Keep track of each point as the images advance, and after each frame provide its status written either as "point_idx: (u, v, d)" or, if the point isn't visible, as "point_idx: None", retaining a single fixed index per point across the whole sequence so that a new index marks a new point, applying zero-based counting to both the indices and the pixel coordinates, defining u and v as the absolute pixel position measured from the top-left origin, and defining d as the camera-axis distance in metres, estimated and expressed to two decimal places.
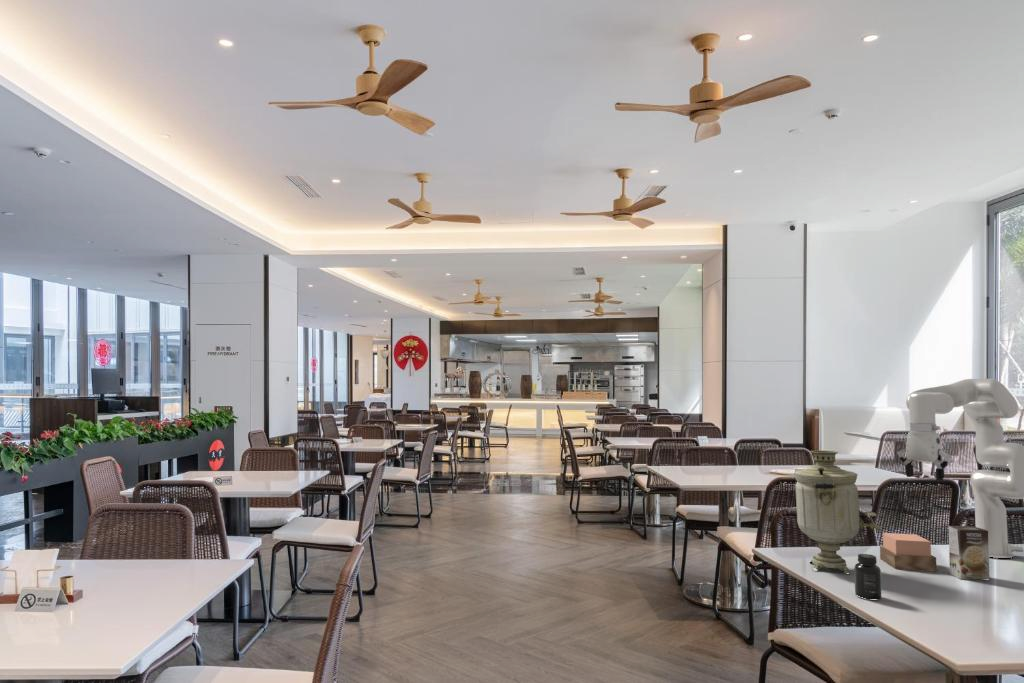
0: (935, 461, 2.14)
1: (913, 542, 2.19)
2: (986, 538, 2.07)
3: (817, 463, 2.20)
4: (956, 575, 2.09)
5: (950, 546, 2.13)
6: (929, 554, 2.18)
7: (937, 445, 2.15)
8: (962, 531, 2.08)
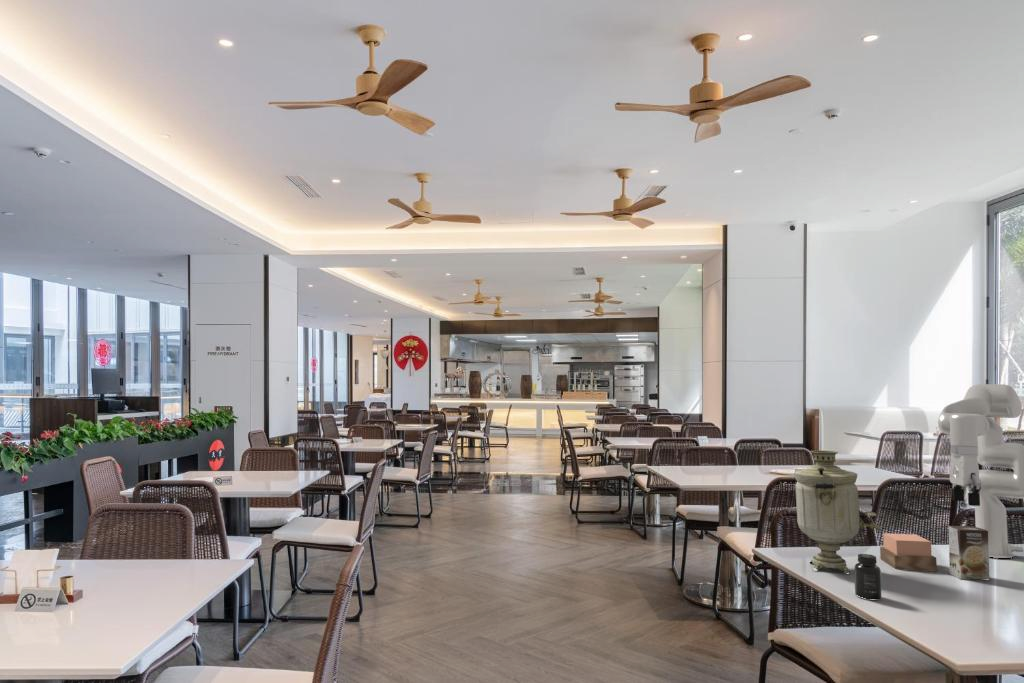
0: None
1: (913, 542, 2.19)
2: (986, 538, 2.07)
3: (817, 463, 2.20)
4: (956, 575, 2.09)
5: (950, 546, 2.13)
6: (929, 554, 2.18)
7: None
8: (962, 531, 2.08)
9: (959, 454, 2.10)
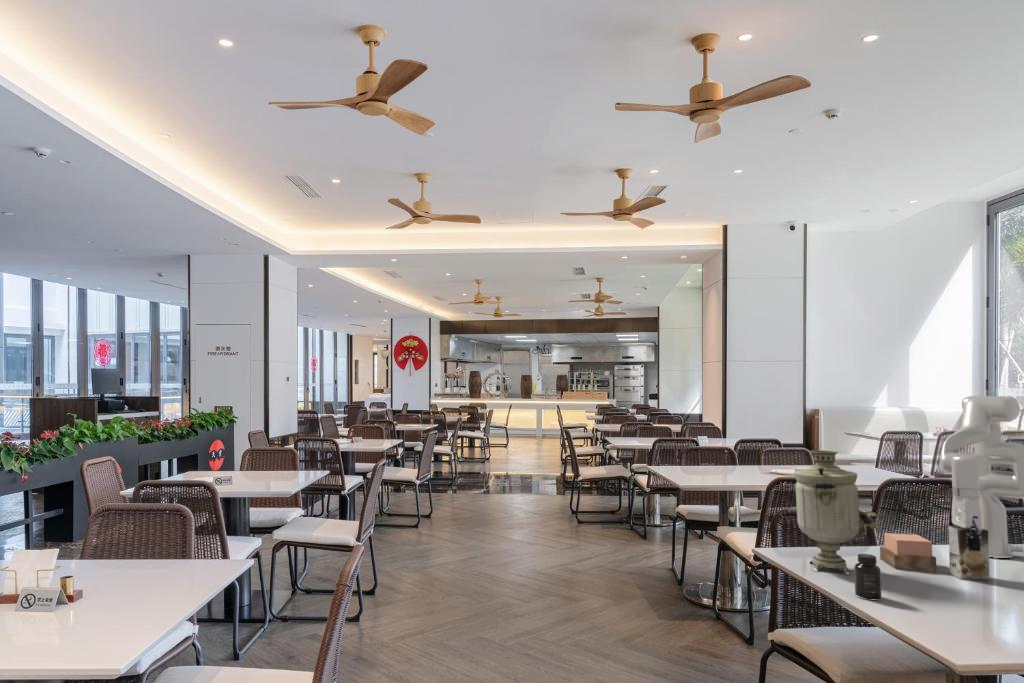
0: None
1: (914, 542, 2.19)
2: (986, 538, 2.07)
3: (817, 463, 2.20)
4: (956, 575, 2.09)
5: (950, 546, 2.13)
6: (930, 554, 2.18)
7: None
8: (962, 531, 2.08)
9: (961, 496, 2.09)
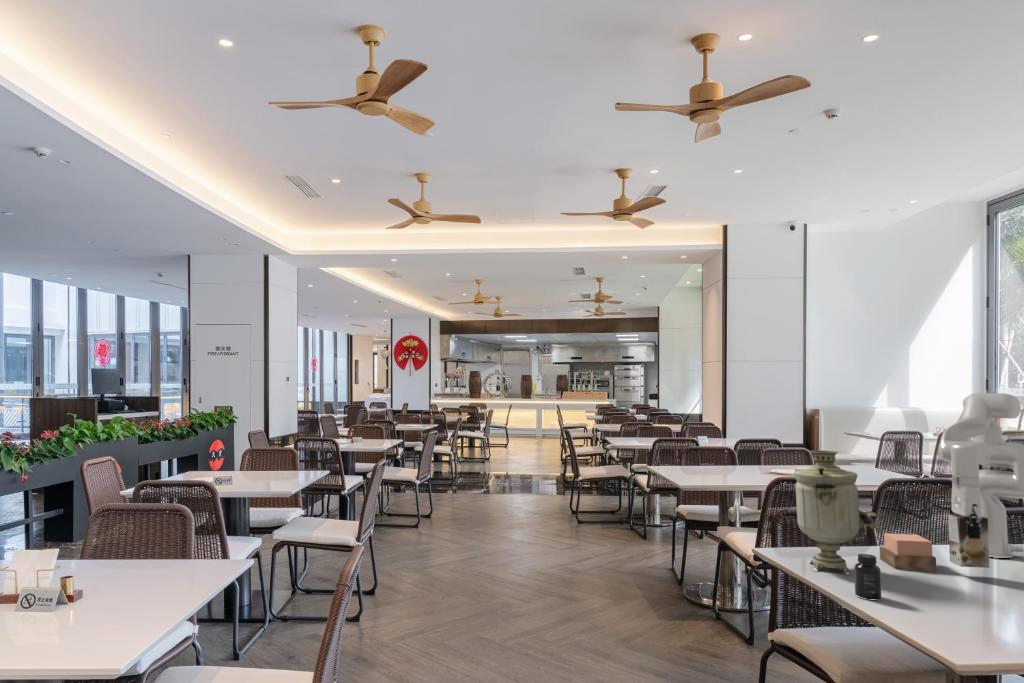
0: None
1: (914, 542, 2.19)
2: (986, 526, 2.08)
3: (817, 463, 2.20)
4: (956, 563, 2.10)
5: (950, 534, 2.13)
6: (930, 554, 2.18)
7: None
8: (962, 519, 2.09)
9: (960, 485, 2.10)
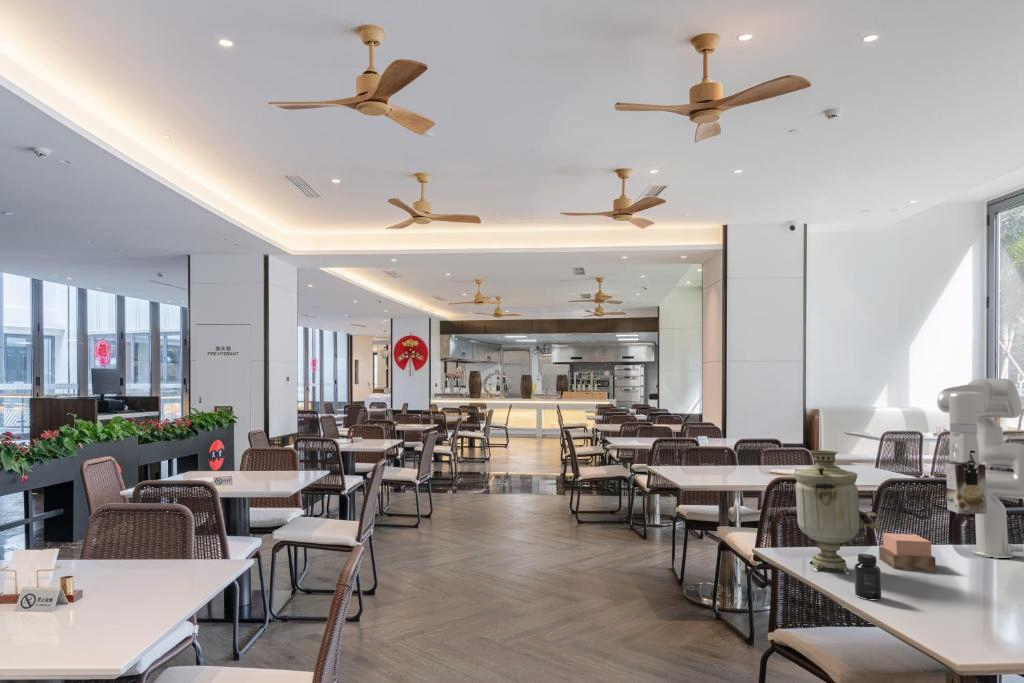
0: None
1: (913, 542, 2.19)
2: (983, 472, 2.09)
3: (817, 463, 2.20)
4: (954, 510, 2.11)
5: (948, 482, 2.15)
6: (929, 554, 2.18)
7: None
8: (959, 466, 2.10)
9: (958, 432, 2.11)
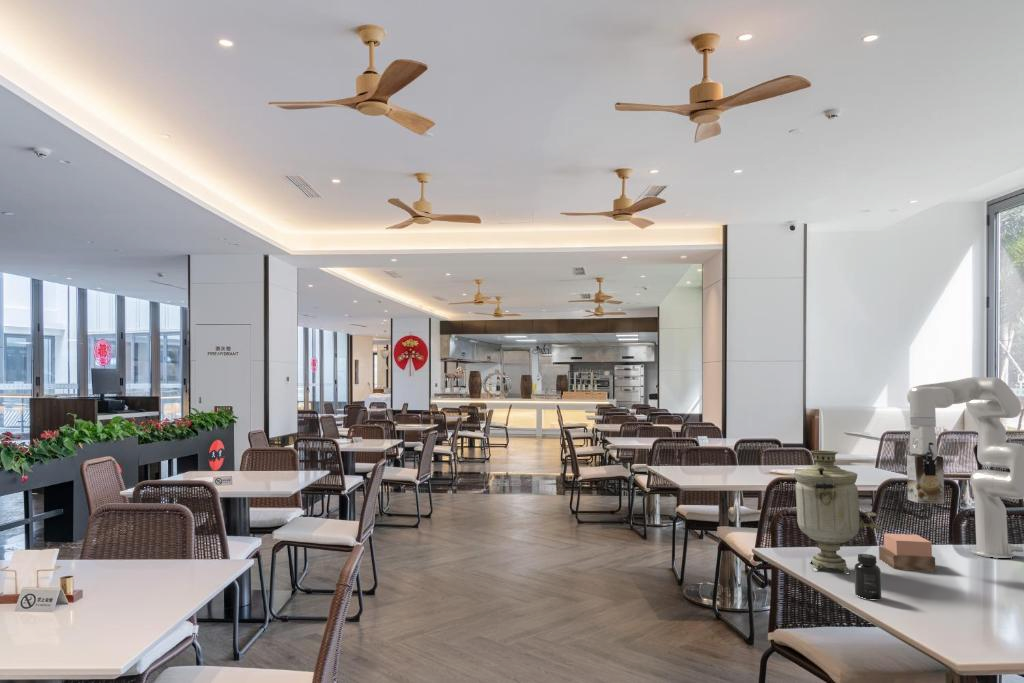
0: None
1: (914, 543, 2.18)
2: (941, 464, 2.18)
3: (817, 463, 2.20)
4: (913, 500, 2.20)
5: (908, 473, 2.24)
6: (930, 555, 2.17)
7: None
8: (919, 457, 2.19)
9: (918, 425, 2.20)
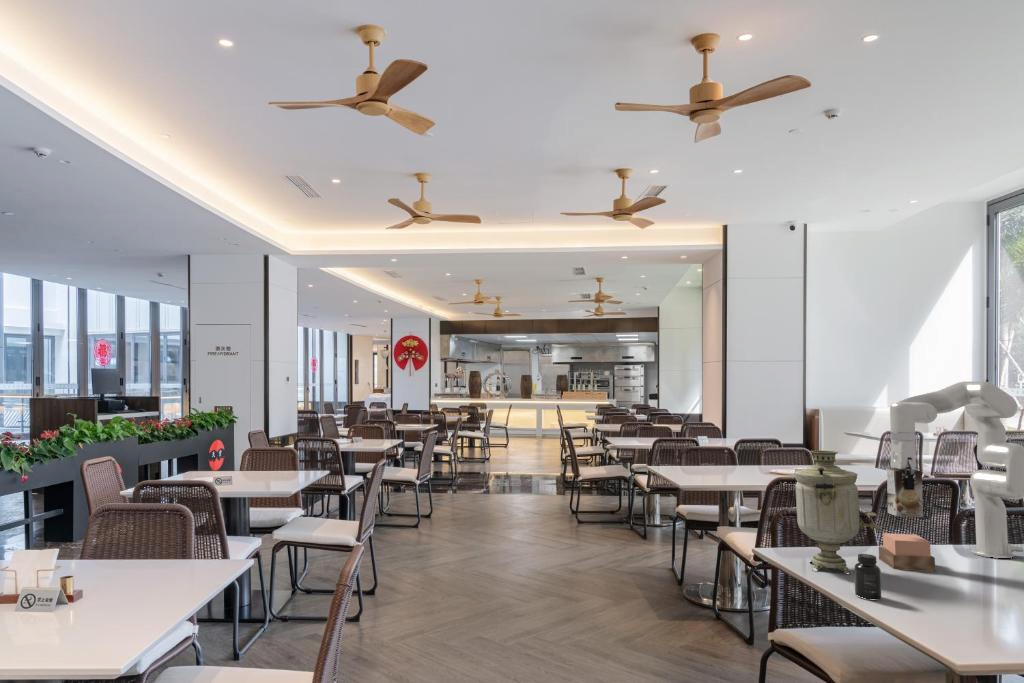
0: None
1: (912, 542, 2.19)
2: (920, 478, 2.23)
3: (817, 463, 2.20)
4: (893, 513, 2.25)
5: (888, 487, 2.28)
6: (928, 554, 2.18)
7: None
8: (898, 472, 2.23)
9: (897, 440, 2.25)
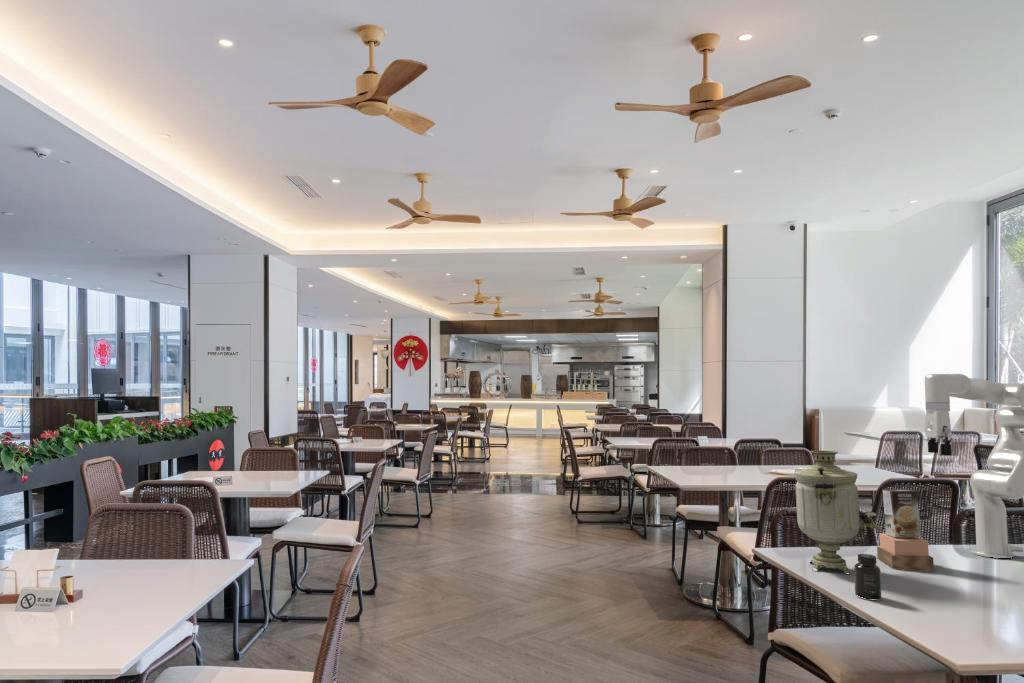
0: None
1: (911, 542, 2.19)
2: (916, 498, 2.24)
3: (817, 463, 2.20)
4: (891, 534, 2.25)
5: (885, 508, 2.29)
6: (927, 554, 2.19)
7: None
8: (894, 492, 2.24)
9: (933, 410, 2.33)
